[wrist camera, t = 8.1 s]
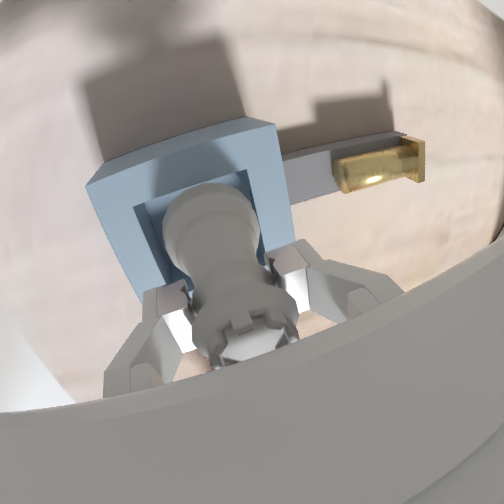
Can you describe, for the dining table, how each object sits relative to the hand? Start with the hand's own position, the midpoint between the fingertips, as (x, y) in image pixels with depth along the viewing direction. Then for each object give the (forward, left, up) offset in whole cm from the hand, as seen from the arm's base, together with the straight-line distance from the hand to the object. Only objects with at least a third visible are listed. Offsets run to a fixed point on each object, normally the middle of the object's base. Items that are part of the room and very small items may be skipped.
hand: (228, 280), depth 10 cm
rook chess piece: (0, 0, -5) cm, 5 cm away
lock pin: (-12, +1, -8) cm, 14 cm away
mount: (-5, +1, -10) cm, 11 cm away
